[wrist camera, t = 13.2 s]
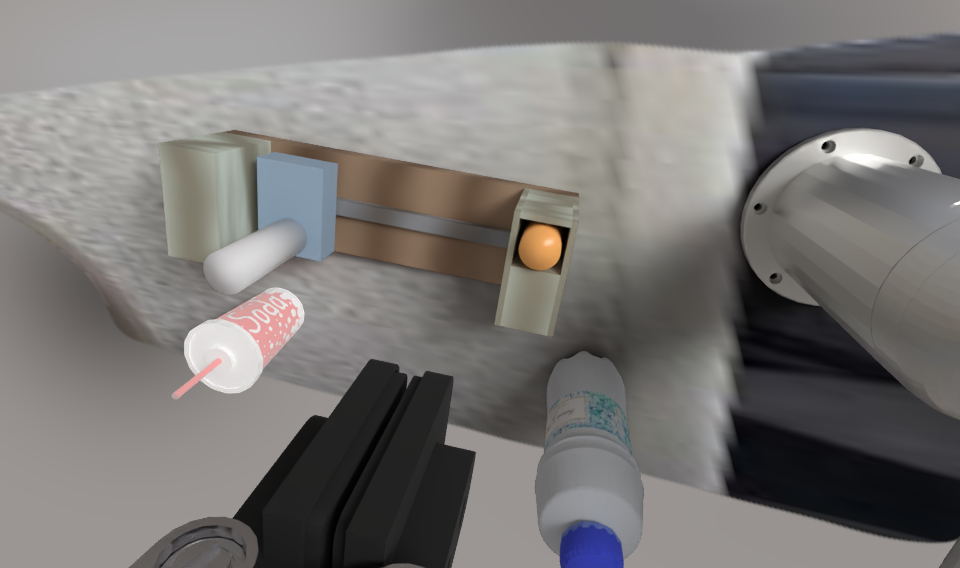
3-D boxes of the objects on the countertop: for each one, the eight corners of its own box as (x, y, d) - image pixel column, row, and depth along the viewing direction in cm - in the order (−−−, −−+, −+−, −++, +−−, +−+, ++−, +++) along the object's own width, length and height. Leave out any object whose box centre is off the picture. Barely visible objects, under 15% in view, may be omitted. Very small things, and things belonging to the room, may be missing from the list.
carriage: (337, 163, 40) (261, 193, 30) (334, 251, 42) (263, 304, 33) (275, 151, 40) (179, 177, 30) (275, 239, 43) (188, 287, 33)
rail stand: (578, 193, 40) (578, 222, 32) (556, 289, 43) (552, 337, 35) (229, 129, 43) (151, 142, 35) (232, 223, 46) (162, 254, 38)
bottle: (581, 327, 44) (585, 509, 26) (642, 375, 45) (687, 585, 27) (530, 378, 47) (500, 575, 28) (588, 422, 47) (595, 643, 29)
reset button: (566, 217, 36) (565, 234, 32) (558, 253, 37) (556, 273, 33) (528, 210, 36) (522, 226, 32) (521, 246, 37) (515, 265, 33)
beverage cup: (325, 315, 48) (233, 405, 35) (285, 352, 50) (185, 448, 37) (276, 266, 47) (162, 339, 34) (237, 305, 49) (117, 388, 36)
